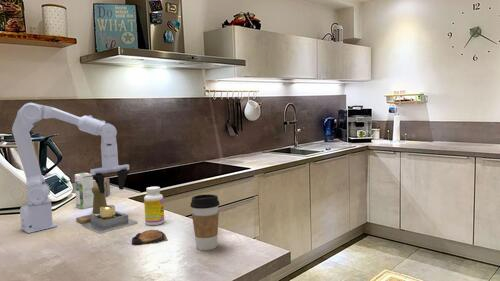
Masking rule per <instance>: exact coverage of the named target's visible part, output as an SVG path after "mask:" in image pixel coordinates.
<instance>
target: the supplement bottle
mask: <svg viewBox="0 0 500 281" xmlns="http://www.w3.org/2000/svg"><path fill="white" fill-rule="evenodd" d="M145 192H146V194H145V196H144V197H143V200H144V202H143V204H144V220H145V224H146V225H147V226H157V225H162V224H163V223H164V222H165V208H164V207H165V206H164V196H163V194H161V193H160V192H161V187H160V186H150V187H149V186H148V187H146V191H145Z"/></svg>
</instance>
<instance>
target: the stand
mask: <svg viewBox="0 0 500 281" xmlns="http://www.w3.org/2000/svg"><path fill="white" fill-rule="evenodd" d="M96 215H97V214H93V213H91V214H87V215H83V216H78V217H75V218H76V219H75V220H76V223H79V224H81V225H82V224H84V223H88V222H91V218H90V217H92V216H96Z"/></svg>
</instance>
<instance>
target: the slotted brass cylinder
mask: <svg viewBox="0 0 500 281" xmlns="http://www.w3.org/2000/svg"><path fill="white" fill-rule="evenodd" d="M115 211H116V206H115V205H114V204H107V205H103V206H101V207H100V214H99V215H100V219H103V220H107V219H111V218H115Z"/></svg>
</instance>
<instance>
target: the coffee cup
mask: <svg viewBox="0 0 500 281" xmlns="http://www.w3.org/2000/svg"><path fill="white" fill-rule="evenodd" d="M219 206H220V201H219V197H218V195H216V194H210V193H209V194H196V195H194V196H192V197H191V201H190V206H189V207H191V212H192V213H191V215H192V224H193V231H194V237H195V245H196V249H198V250H199V251H212V250H214V249H217V247H218V234H219V232H218V231H219V216H220V213H219V212H220V211H219Z"/></svg>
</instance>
